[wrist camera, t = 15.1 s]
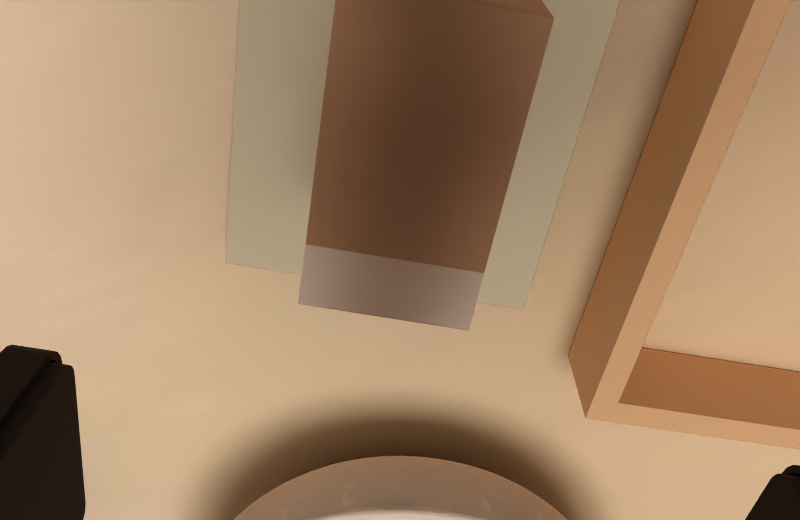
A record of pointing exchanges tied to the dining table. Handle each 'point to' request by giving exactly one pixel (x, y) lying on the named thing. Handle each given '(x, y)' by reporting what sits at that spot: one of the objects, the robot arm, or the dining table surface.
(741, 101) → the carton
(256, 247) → the board
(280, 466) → the dining table surface
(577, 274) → the dining table surface
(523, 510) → the serving bowl
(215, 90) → the dining table surface
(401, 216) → the walnut box
